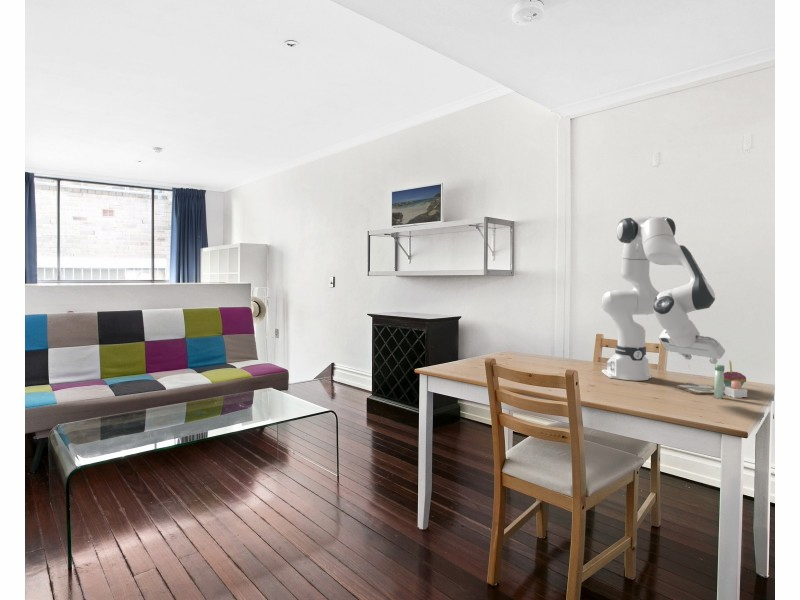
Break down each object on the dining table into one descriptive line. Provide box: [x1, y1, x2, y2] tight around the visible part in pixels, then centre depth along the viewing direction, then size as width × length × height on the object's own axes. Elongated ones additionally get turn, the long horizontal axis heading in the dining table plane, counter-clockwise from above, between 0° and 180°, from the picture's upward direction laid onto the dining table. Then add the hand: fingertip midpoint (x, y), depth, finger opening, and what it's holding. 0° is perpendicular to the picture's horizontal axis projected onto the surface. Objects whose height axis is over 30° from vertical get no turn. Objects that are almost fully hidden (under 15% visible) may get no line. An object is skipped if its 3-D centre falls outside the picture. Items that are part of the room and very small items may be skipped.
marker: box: [713, 364, 725, 399], centre depth 181 cm, size 3×3×12 cm
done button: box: [731, 381, 742, 389], centre depth 183 cm, size 3×3×4 cm
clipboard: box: [674, 382, 725, 395], centre depth 193 cm, size 15×14×1 cm
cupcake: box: [724, 360, 747, 388], centre depth 194 cm, size 9×8×12 cm
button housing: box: [723, 386, 748, 399], centre depth 183 cm, size 5×5×3 cm
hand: (701, 360), depth 176 cm, fingers open, 8 cm apart
